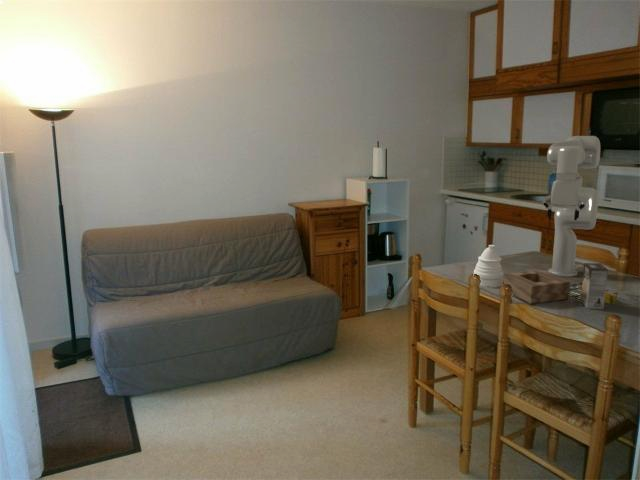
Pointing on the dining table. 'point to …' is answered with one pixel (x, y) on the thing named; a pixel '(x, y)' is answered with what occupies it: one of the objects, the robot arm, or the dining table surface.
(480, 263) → the honey pot
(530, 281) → the well block
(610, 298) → the medication box
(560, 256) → the robot arm
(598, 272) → the coffee box
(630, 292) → the dining table surface
